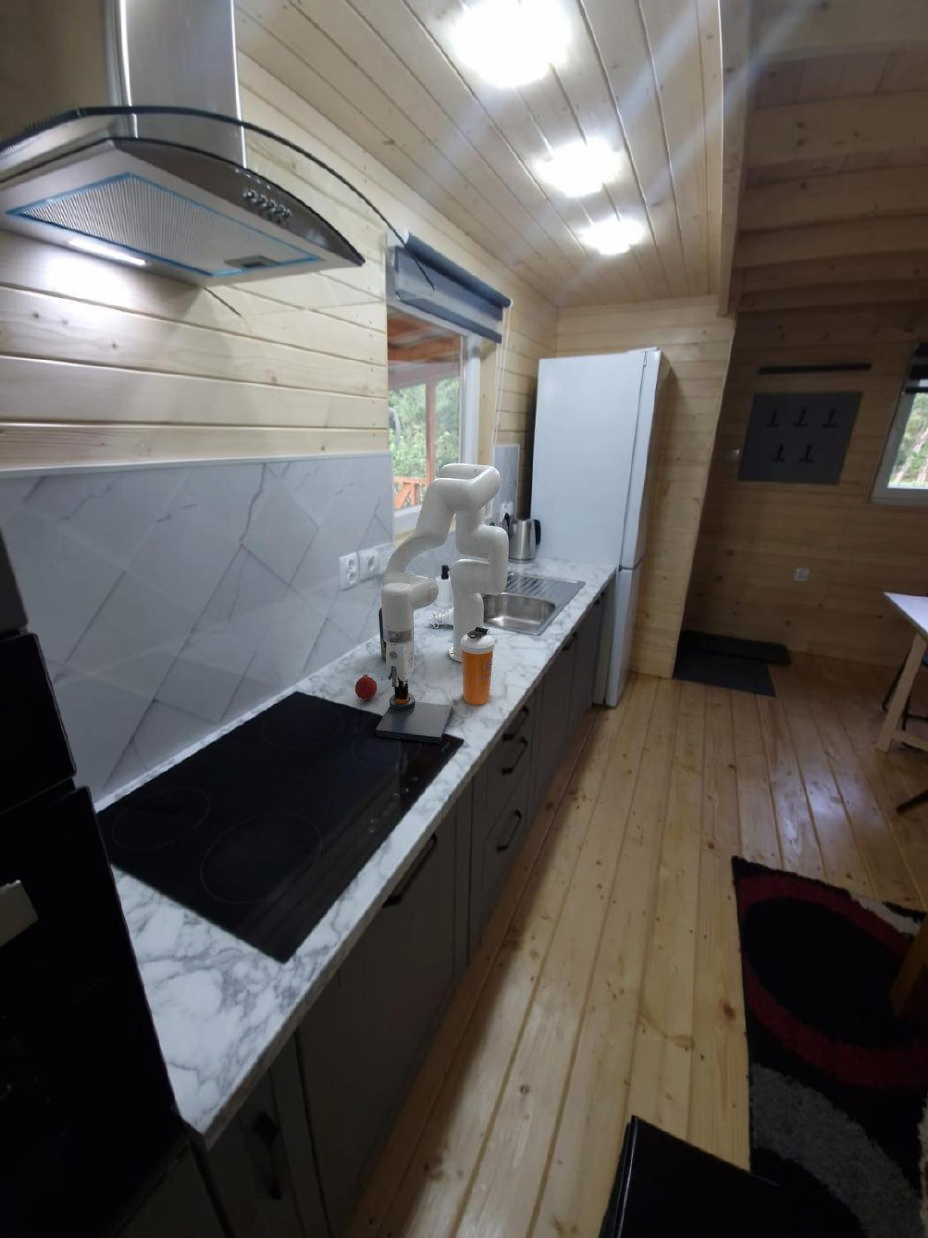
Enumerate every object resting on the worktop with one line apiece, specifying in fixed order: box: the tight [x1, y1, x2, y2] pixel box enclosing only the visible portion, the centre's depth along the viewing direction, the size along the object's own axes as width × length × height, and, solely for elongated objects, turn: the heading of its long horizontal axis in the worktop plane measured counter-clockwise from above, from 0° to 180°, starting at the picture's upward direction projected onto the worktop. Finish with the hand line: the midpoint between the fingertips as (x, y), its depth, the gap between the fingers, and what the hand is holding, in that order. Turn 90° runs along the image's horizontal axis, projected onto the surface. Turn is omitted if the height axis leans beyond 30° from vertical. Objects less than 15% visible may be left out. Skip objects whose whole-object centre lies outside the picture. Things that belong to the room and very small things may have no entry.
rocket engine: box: [426, 607, 453, 629], centre depth 181 cm, size 12×12×18 cm
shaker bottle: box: [461, 627, 495, 706], centre depth 132 cm, size 9×9×20 cm
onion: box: [354, 673, 378, 702], centre depth 133 cm, size 6×6×8 cm
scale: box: [375, 692, 453, 745], centre depth 124 cm, size 15×16×4 cm
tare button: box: [395, 696, 409, 704], centre depth 128 cm, size 4×4×2 cm
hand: (401, 697), depth 128 cm, fingers closed
